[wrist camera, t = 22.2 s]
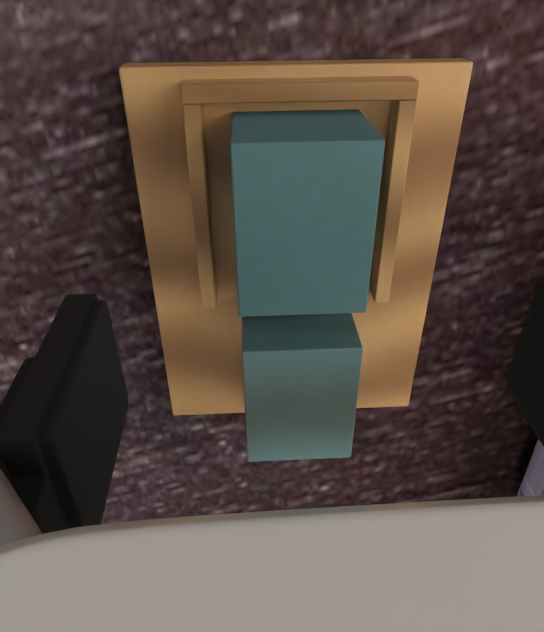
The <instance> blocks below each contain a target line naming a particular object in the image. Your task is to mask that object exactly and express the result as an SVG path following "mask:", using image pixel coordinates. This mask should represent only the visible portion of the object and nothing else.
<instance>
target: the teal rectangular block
mask: <svg viewBox="0 0 544 632" xmlns="http://www.w3.org/2000/svg"><path fill="white" fill-rule="evenodd" d="M384 147H385V140H384V139H383V138H382V137H381V135H380V134H379V133H378V132H377V130H376V129H375V128H374V127H373V126H372V124H371V123H370V122H369V121H368V120H367V118H366V117H365V116H364V115H363V114H362V112H361V111H360V110H359V109H350V110H297V111H245V112H232V121H231V136H230V157H231V176H232V195H233V215H234V234H235V253H236V272H237V292H238V311H239V316H240V317H246V316H276V315H306V314H336V313H365V312H366V307H367V299H368V290H369V281H370V272H371V263H372V254H373V245H374V236H375V227H376V218H377V209H378V200H379V192H380V183H381V174H382V165H383V156H384Z"/></svg>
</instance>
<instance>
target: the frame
mask: <svg viewBox="0 0 544 632" xmlns="http://www.w3.org/2000/svg"><path fill="white" fill-rule="evenodd" d="M472 66H473V62H471V61H469V60H466V59H464V58H423V59H358V60H294V61H229V62H164V63H125V64H123V65H122V66H121V67H120V68H119V74H120V81H121V87H122V93H123V100H124V106H125V113H126V119H127V125H128V132H129V138H130V144H131V151H132V157H133V163H134V170H135V176H136V183H137V189H138V195H139V202H140V208H141V214H142V221H143V227H144V233H145V240H146V246H147V252H148V259H149V265H150V272H151V278H152V284H153V291H154V297H155V303H156V310H157V316H158V322H159V329H160V335H161V342H162V348H163V354H164V361H165V367H166V373H167V380H168V386H169V392H170V399H171V405H172V412H173V415H196V414H221V413H245V423H246V443H247V460H248V461H249V462H253V461H276V460H299V459H322V458H345V457H351V451H352V442H353V433H354V424H355V415H356V408H371V407H396V406H408V404H409V399H410V394H411V388H412V383H413V378H414V373H415V367H416V362H417V357H418V351H419V346H420V341H421V336H422V330H423V325H424V320H425V314H426V309H427V304H428V299H429V293H430V288H431V283H432V277H433V272H434V267H435V262H436V256H437V251H438V246H439V240H440V235H441V230H442V225H443V219H444V214H445V209H446V204H447V198H448V193H449V188H450V182H451V177H452V172H453V167H454V161H455V156H456V151H457V145H458V140H459V135H460V130H461V124H462V119H463V114H464V108H465V103H466V98H467V93H468V87H469V82H470V77H471V72H472ZM350 109H359V110H360V111H361V112H362V114H363V115H364V116H365V117H366V118H367V120H368V121H369V122H370V123H371V124H372V126H373V127H374V128H375V129H376V130H377V132H378V133H379V134H380V135H381V137H382V138H383V139H384V140H385V147H384V156H383V165H382V174H381V183H380V192H379V200H378V209H377V218H376V227H375V236H374V245H373V254H372V263H371V272H370V281H369V290H368V299H367V307H366V312H365V313H336V314H306V315H276V316H246V317H240V316H239V311H238V292H237V272H236V253H235V234H234V215H233V195H232V176H231V157H230V136H231V121H232V112H245V111H297V110H350Z"/></svg>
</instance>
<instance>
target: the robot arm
mask: <svg viewBox="0 0 544 632" xmlns="http://www.w3.org/2000/svg"><path fill="white" fill-rule="evenodd" d="M506 385H507V389H508V391H509V393H510V395H511V396H512V398H513V399H514V401H515V403H516V404H517V406H518V407H519V409H520V410H521V412H522V414H523V415H524V417H525V418H526V420H527V422H528V423H529V425H530V426H531V428H532V429H533V431H534V433H535V434H536V436H537V437H538V439H539V441H540V442H541V444H542V445H543V447H544V282H543V283H541V284H539V285H538V286H537V287H536V289H535V292H534V295H533V298H532V301H531V304H530V307H529V310H528V313H527V316H526V319H525V322H524V325H523V328H522V331H521V334H520V337H519V340H518V343H517V346H516V349H515V352H514V355H513V358H512V361H511V364H510V367H509V370H508V373H507V377H506ZM127 409H128V394H127V389H126V385H125V380H124V376H123V371H122V367H121V362H120V358H119V354H118V349H117V345H116V340H115V336H114V331H113V327H112V322H111V318H110V313H109V309H108V305H107V302H106V301H105V300H98V298H97V296H96V295H95V294H75V295H66V296H65V298H64V300H63V302H62V304H61V306H60V308H59V310H58V312H57V314H56V316H55V318H54V320H53V322H52V324H51V326H50V328H49V330H48V332H47V334H46V336H45V338H44V340H43V342H42V344H41V346H40V348H39V350H38V352H37V354H36V356H35V357H30V358H28V359H26V360H25V361H24V362H23V364H22V365H21V367H20V369H19V371H18V373H17V375H16V377H15V379H14V381H13V383H12V385H11V387H10V389H9V390H8V392H7V394H6V396H5V398H4V400H3V402H2V404H1V406H0V632H544V495H538V496H519V497H500V498H482V499H464V500H446V501H429V502H411V503H394V504H377V505H360V506H343V507H327V508H311V509H295V510H279V511H263V512H248V513H232V514H216V515H202V516H189V517H176V518H164V519H151V520H138V521H126V522H116V523H108V524H101V521H102V517H103V513H104V508H105V504H106V500H107V495H108V491H109V487H110V483H111V478H112V474H113V470H114V465H115V461H116V457H117V453H118V448H119V444H120V440H121V435H122V431H123V427H124V423H125V418H126V414H127Z"/></svg>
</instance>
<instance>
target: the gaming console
mask: <svg viewBox="0 0 544 632" xmlns="http://www.w3.org/2000/svg"><path fill="white" fill-rule="evenodd" d="M538 495H544V447H543V445H542V444H541V442H540V441H539V439H538V441H537V443H536V446H535V449H534V451H533V454H532V457H531V459H530V462H529V465H528V467H527V470H526V473H525V475H524V478H523V481H522V483H521V486H520V489H519V491H518V497H519V496H538Z"/></svg>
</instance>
